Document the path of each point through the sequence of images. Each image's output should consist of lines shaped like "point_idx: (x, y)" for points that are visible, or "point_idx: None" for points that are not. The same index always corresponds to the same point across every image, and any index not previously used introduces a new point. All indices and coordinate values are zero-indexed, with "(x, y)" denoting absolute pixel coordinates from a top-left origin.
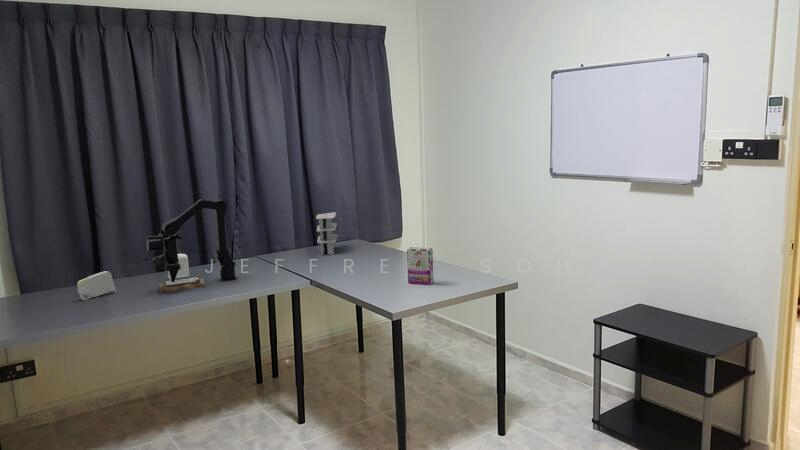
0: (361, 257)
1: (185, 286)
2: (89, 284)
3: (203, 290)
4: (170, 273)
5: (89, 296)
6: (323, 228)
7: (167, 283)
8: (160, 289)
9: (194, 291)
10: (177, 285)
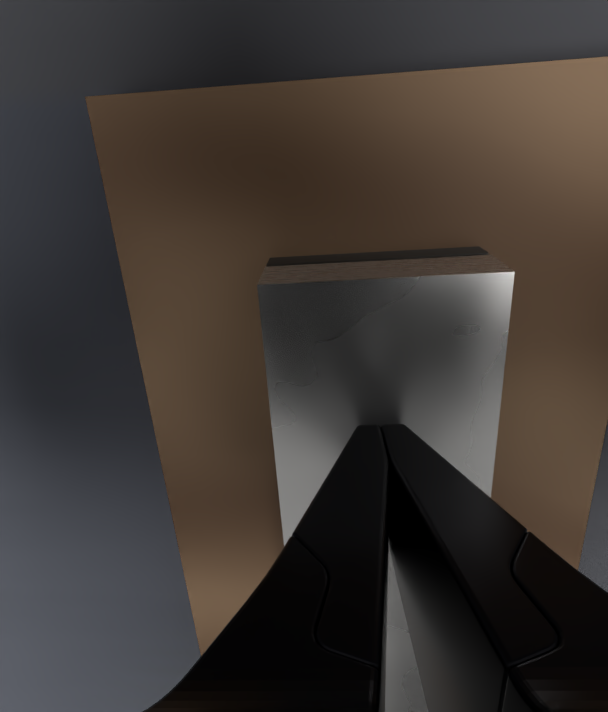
0: None
1: (186, 562)
2: None
3: (27, 692)
4: (253, 611)
5: None
6: None
7: (263, 305)
8: (87, 103)
9: (9, 612)
10: None
